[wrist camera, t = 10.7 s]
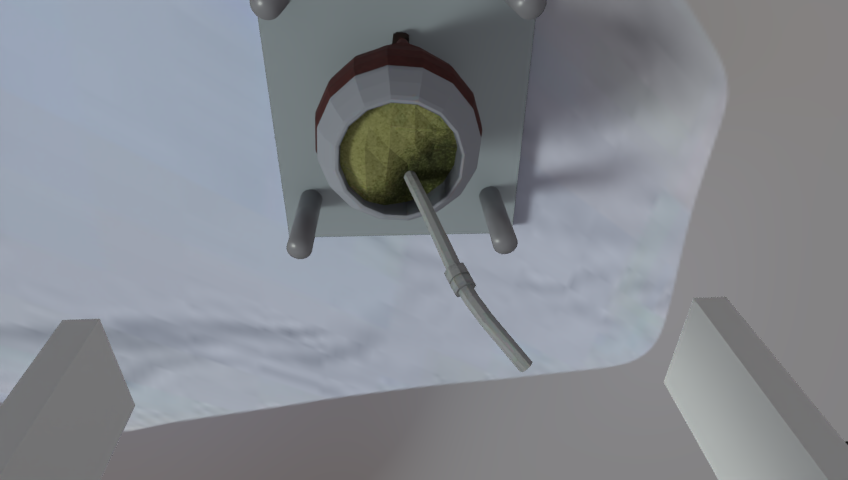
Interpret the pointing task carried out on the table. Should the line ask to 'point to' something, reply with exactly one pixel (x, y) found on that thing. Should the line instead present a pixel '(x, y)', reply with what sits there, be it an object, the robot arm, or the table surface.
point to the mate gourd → (406, 150)
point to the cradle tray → (371, 29)
